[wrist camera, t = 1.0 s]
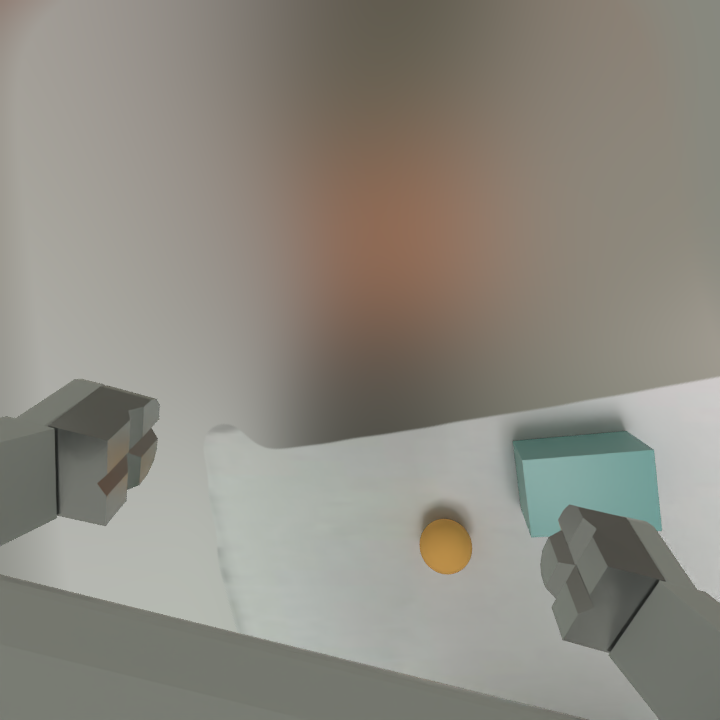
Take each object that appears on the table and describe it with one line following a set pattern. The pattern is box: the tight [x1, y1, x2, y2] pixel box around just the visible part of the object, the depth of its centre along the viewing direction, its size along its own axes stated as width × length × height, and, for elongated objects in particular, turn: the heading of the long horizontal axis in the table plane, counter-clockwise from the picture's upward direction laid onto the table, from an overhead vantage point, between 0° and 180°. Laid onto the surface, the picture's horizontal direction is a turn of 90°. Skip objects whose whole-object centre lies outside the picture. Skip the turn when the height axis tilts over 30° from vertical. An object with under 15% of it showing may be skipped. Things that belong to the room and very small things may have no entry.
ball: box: [420, 519, 472, 574], centre depth 46 cm, size 5×5×5 cm
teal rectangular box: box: [513, 431, 662, 537], centre depth 43 cm, size 10×7×6 cm, turn 98°
